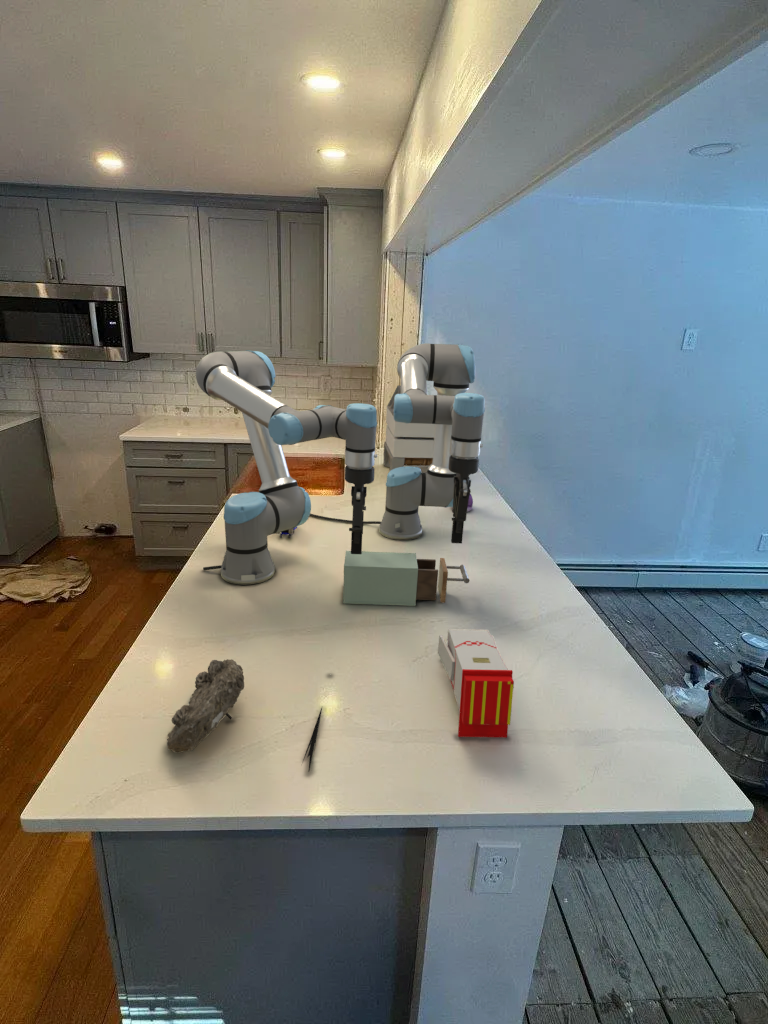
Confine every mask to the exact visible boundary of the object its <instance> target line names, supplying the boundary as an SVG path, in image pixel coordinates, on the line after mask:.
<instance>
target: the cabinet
mask: <svg viewBox="0 0 768 1024" xmlns="http://www.w3.org/2000/svg"><path fill="white" fill-rule="evenodd" d="M344 554H345V555H344V563H343V590H342V591H343V593H342V594H343V595H342V604H346V605H347V604H349V605H350V604H351V605H352V604H353V605H376V606H377V605H379V606H382V605H383V606H406V607H407V606H408V607H409V606H410V607H415V606H417V605H416V604H417V600H416V591H417V577H418V565H417V559H418V558H417V553H416V552H394V551H391V552H390V551H368V550H367V551H365V550H362V554H351V550H345V553H344Z"/></svg>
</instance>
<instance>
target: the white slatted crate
mask: <svg viewBox="0 0 768 1024" xmlns="http://www.w3.org/2000/svg"><path fill="white" fill-rule="evenodd" d="M396 394H401V384H400V385H399V384H398V385H397V386H396V388H395V390H394V392H393V394H392V395H391V398H390V400H389V402H388V404H387V405H386V413H385V414H386V415H385V423H386V428H385V438H384V442H383V466H384V467H388V468H389V472H390V471H391V470H393V469H395V468H399V467H405V466H413V467H428V466H430V465H431V464H432V462H433V448H434V434H435V424H420V423H403V422H396V421H395V420H394V418H393V416H394V397H395V395H396Z"/></svg>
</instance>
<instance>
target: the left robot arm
mask: <svg viewBox="0 0 768 1024" xmlns="http://www.w3.org/2000/svg"><path fill="white" fill-rule="evenodd" d="M275 370H276V369H275V367H274V365H273V362H272V361H271V359H270V358H269V356H267V355H266V354H265V353H263V352H262V351H258V350H249V349H247V350H235V351H233V350H232V351H213V352H210V353H208V354H206V355H204V356H203V357H202V358H201V359H200V360H199V362H198V364H197V366H196V370H195V379H196V383H197V385H198V387H199V388H200V390H202V392H203V393H204V394H205V395H207V396H208V397H210V398H212V399H213V400H216V401H223V402H225V403H226V404H228V405H230V406H231V407H233V408H234V409H236V410H237V411H240V412H241V414H242V419H243V421H244V424H245V428H246V431H247V435H248V440H249V442H250V446H251V449H252V450H251V451H252V453H253V457H254V460H255V465H256V467H257V471H258V475H259V478H260V482H261V485H260V487H259V488H258V491H249V492H240V493H237V494H234V495H233V496H230V498H228V499H227V500H226V501H225V503H224V507H223V520H224V533H225V534H224V535H225V552H224V556H223V559H222V563H221V565H219V564H218V565H211V566H203V568H202V569H203V570H202V571H211V570H218V569H219V570H220V576H221V579H222V580H224V581H225V582H227V583H230V584H233V585H240V586H241V585H242V586H247V585H256V584H261V583H263V582H264V583H265V582H266V581H268V580H270V579H271V578H273V576H274V575H275V571H276V570H275V569H276V567H275V564H274V561H273V557H272V556H271V553H270V550H269V548H268V547H269V545H268V537H269V536H271V535H274V534H275V533H278V532H280V533H281V531H284V530H288V529H292V528H296V527H297V528H298V527H299V526H301V525H304V524H305V523H306V522H307V521H308V520H309V518H310V516H309V515H310V514H311V513H312V501H311V497H310V495H309V493H308V492H307V491H306V489H305V488H304V487H301V486H299V485H298V481H297V480H296V479H295V478H293V477H292V476H291V475H290V472H289V471H290V470H289V467H288V464H287V460H286V456H285V453H284V449H283V446H293V445H296V444H300V443H305V442H310V441H317V440H322V439H327V438H337V439H340V440H344V441H345V449H344V464H345V467H344V481H345V482H346V483H348V484H351V485H352V486H351V489H350V496H351V506H352V519H351V520H352V523H351V527H349V528H348V531H349V532H351V533H350V534H351V536H350V537H351V538H350V551H351V554H362V551H363V534H364V524H363V521H364V517H365V516H364V513H365V511H367V506H366V497H367V490H368V489H367V486H365V485H369V484H371V483H373V482H374V481H375V467H374V466H375V461H376V460H375V459H377V458H378V454H377V453H376V441H377V440H376V438H377V427H378V420H377V418H378V417H377V415H378V414H377V408H376V406H374V405H372V404H369V403H361V402H359V403H358V402H356V403H350V404H348V405H347V406H346V408H340V407H336V406H333V405H330V404H327V405H325V404H319V405H317V406H315V407H314V408H313V409H306V410H297V409H294V408H293V407H291V406H289V405H288V404H285V402H282V401H281V400H279V399H277V398H276V397H274V396H272V393H273V390H272V388H273V387H274V385H275V383H276V380H275V378H276V371H275ZM297 528H296V529H297Z"/></svg>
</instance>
